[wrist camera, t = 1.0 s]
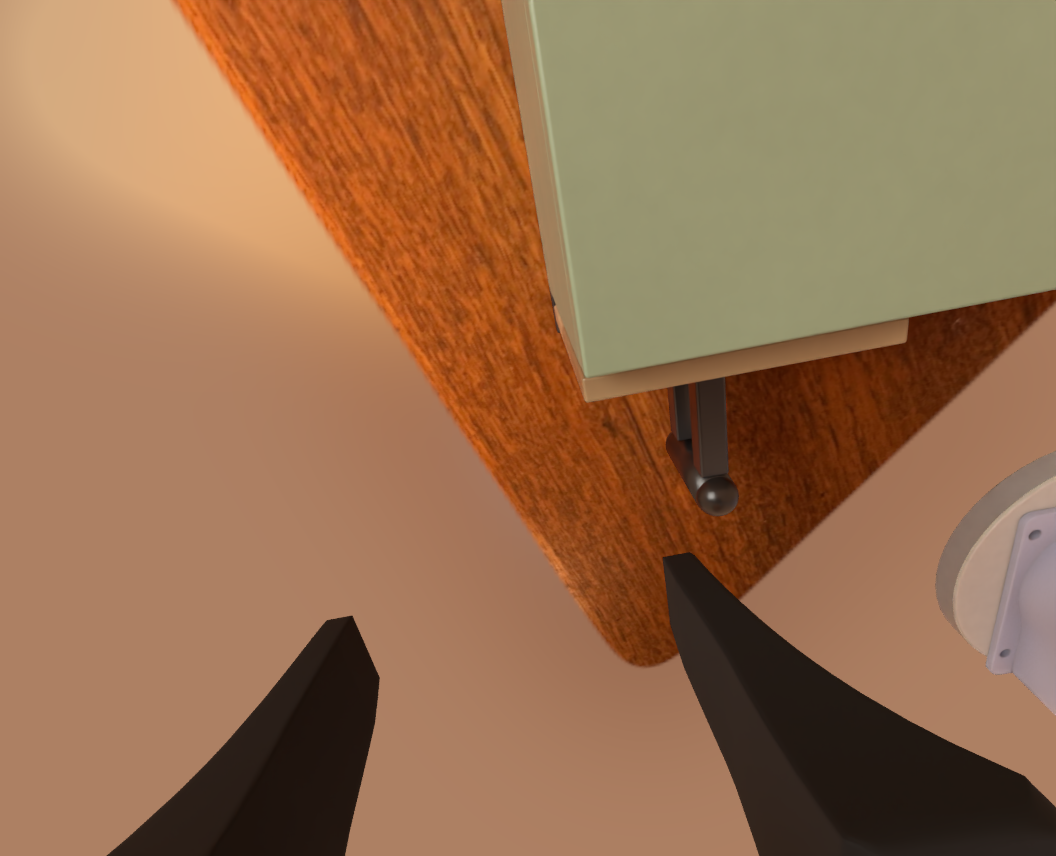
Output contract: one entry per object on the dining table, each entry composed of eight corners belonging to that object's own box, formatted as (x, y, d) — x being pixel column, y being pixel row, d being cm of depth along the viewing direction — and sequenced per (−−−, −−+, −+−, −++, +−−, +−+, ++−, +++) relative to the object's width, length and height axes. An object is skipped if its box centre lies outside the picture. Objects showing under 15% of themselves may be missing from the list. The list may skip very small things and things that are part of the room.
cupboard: (961, 250, 19) (1289, 313, 11) (556, 329, 20) (594, 442, 12) (1027, -208, 14) (1691, -675, 6) (486, -87, 15) (471, -378, 7)
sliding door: (767, 422, 21) (886, 538, 14) (579, 458, 21) (613, 586, 15) (767, 263, 18) (911, 316, 12) (553, 304, 18) (581, 379, 12)
